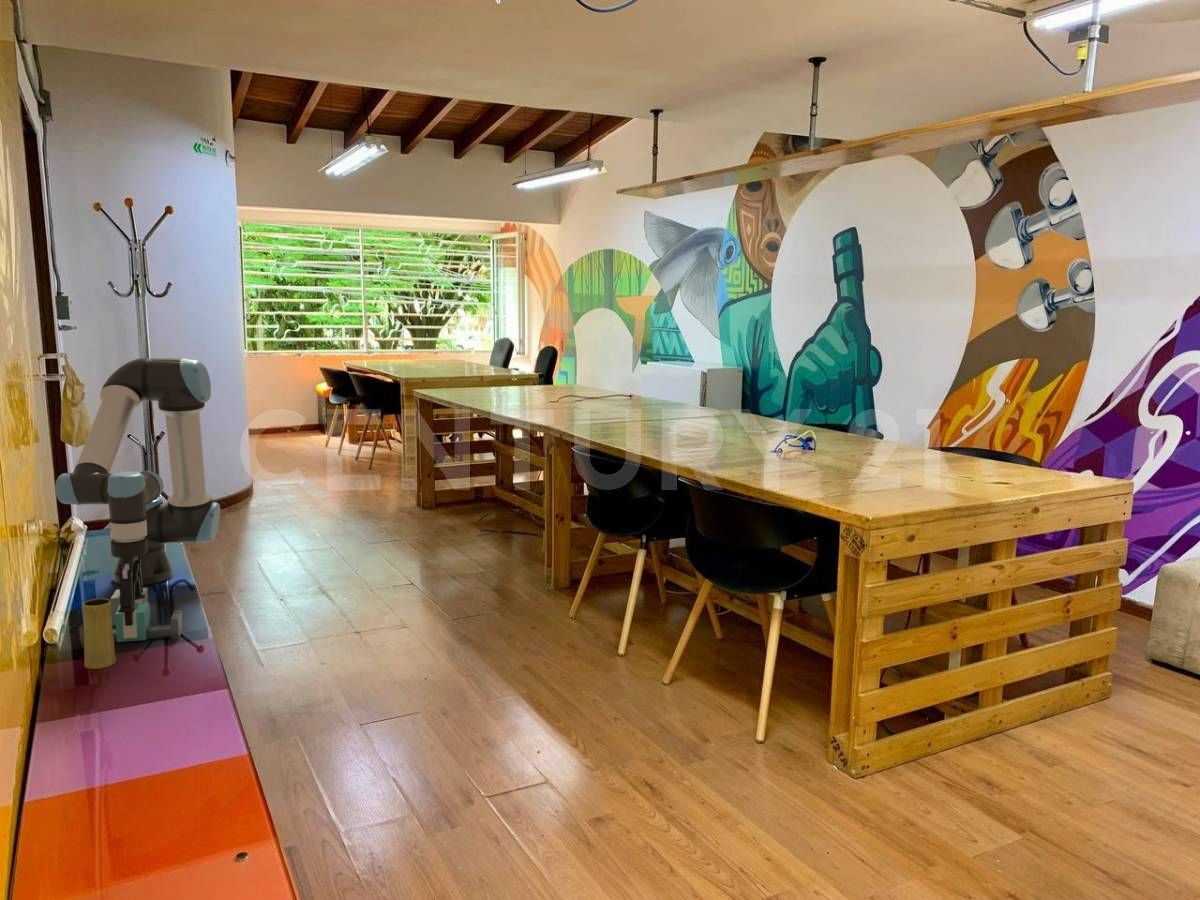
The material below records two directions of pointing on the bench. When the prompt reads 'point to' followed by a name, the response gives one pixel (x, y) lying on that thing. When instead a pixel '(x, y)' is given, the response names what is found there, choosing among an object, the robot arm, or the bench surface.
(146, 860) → the bench surface
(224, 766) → the bench surface
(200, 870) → the bench surface
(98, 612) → the vase
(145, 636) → the block
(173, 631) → the rail
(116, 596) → the grey cube housing
